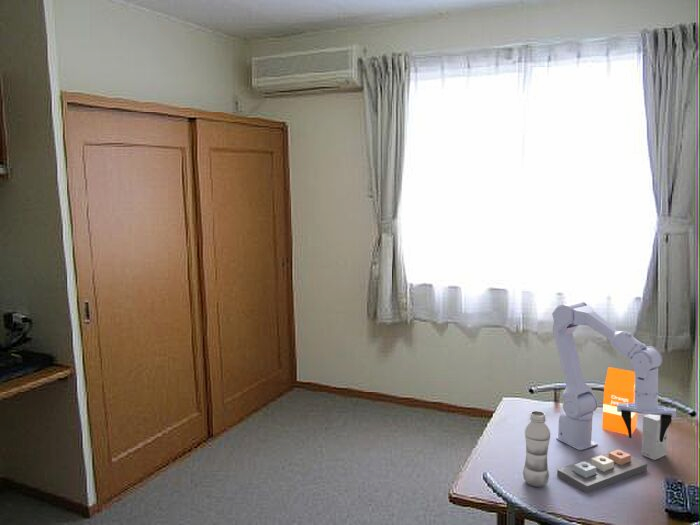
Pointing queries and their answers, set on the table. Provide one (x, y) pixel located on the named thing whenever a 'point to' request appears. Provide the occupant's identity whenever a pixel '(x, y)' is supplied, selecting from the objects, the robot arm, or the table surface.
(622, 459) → the terracotta key
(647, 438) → the skincare box
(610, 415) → the orange juice
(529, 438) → the plastic bottle
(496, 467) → the table surface
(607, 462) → the cream key
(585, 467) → the grey blue key
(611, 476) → the keypad
